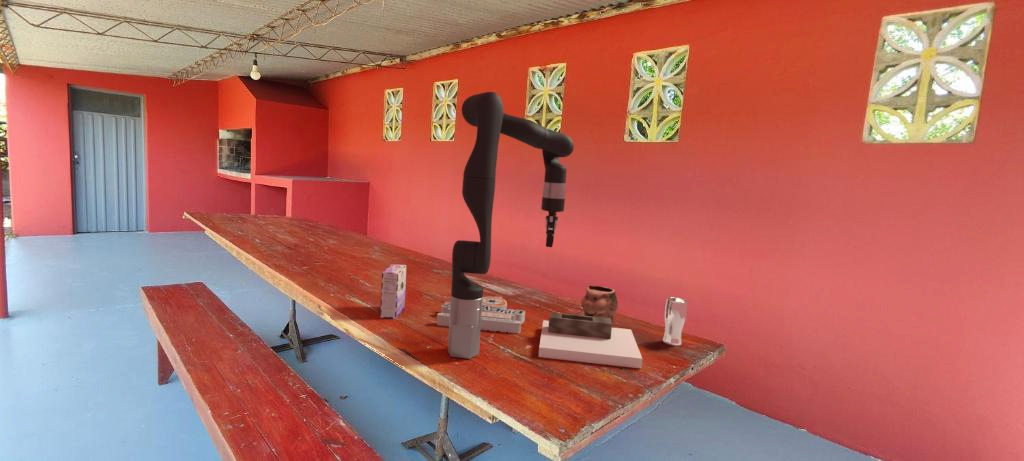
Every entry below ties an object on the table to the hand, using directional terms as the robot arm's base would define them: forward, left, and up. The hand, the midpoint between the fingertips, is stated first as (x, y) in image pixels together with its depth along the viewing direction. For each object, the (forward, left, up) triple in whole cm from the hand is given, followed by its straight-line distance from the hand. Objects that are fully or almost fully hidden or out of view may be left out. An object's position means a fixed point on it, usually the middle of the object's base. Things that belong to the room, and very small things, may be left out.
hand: (549, 244), depth 165 cm
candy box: (+3, +54, -30) cm, 62 cm away
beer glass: (+3, -44, -30) cm, 54 cm away
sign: (+10, +22, -31) cm, 39 cm away
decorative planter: (+14, -20, -30) cm, 39 cm away
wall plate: (-10, -15, -30) cm, 35 cm away
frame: (-6, -12, -27) cm, 30 cm away
